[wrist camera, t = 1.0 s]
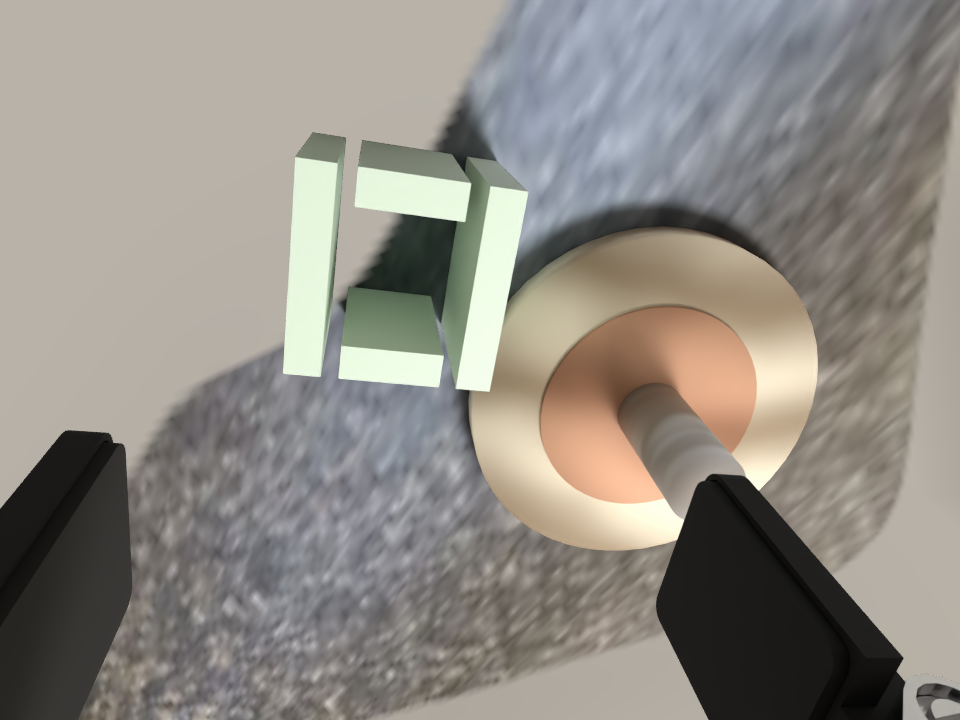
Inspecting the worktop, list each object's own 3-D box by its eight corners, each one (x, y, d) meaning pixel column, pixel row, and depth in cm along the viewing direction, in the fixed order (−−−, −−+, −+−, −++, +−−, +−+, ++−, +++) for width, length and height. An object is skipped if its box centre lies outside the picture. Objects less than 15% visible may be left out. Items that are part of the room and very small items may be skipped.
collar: (312, 132, 25) (295, 157, 19) (497, 161, 26) (528, 191, 21) (301, 309, 28) (283, 373, 22) (468, 327, 29) (489, 391, 24)
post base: (502, 201, 27) (544, 254, 20) (850, 251, 30) (988, 312, 23) (444, 523, 33) (461, 645, 26) (736, 537, 36) (817, 649, 30)
